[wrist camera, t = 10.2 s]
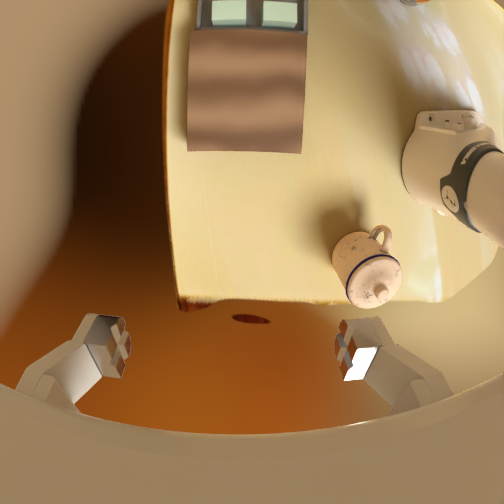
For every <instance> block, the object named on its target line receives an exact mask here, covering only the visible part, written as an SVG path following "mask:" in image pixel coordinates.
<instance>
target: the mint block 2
mask: <svg viewBox="0 0 504 504" xmlns="http://www.w3.org/2000/svg"><path fill="white" fill-rule="evenodd" d="M296 24H297V3H287V2H275V1H263V6H262V10H261V27H263V28H277V29H287V30H293V28H294V27H295V25H296Z"/></svg>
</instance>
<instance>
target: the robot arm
mask: <svg viewBox="0 0 504 504" xmlns="http://www.w3.org/2000/svg"><path fill="white" fill-rule="evenodd" d="M429 117H430V121H429ZM402 175H403V180H404V184H405V186H406V189H407V191H408V192H409V194H410V195H411V196H412V198H413V199H414V200H416V201H417V202H418V203H420V204H423V205H426V206H429V207H432V208H433V209H434V210H435V211H436V212H437V213H438V214H440V215H442V216H444V215H448V216H450V217H452V218H454V219H456V220H458V221H460V222H462V223H463V224H465V225H466V226H467V227H468V228H469V229H472V230H474V231H476V232H478V233H483V234H484V235H486V236H487V237H488V238H490V239H491V240H492V241H494V242H495V243H496V244H498V245H499V246H500V247H502V248H503V249H504V153H503V152H502V151H501V150H500V149H499V144H498V140H497V137H496V135H495V133H494V131H493V130H492V129H491V128H490V127H489V126H486V125H484V122H483V120H482V118H481V116H480V115H479V113H478V112H476V111H473V110H440V111H421V112H419V113H418V115H417V119H416V124H415V129H414V131H413V133H412V135H411V137H410V138H409V140H408V142H407V144H406V146H405V149H404V153H403V158H402ZM125 326H126V324H125V321H124V319H123V318H122V317H116V316H108V315H97V314H91V313H89V314H87V315H86V316H85V318H84V319H83V321H82V323H81V325H80V326H79V328H78V330H77V331H76V333H75V335H74V337H73V338H72V340H71V341H67V342H65V343H64V344H62V345H60V346H59V347H57V348H56V349H54V350H53V351H51V352H50V353H48V354H47V355H45V356H44V357H42V358H40V359H39V360H38V361H36V362H34V363H33V364H31V365H30V366H28V367H27V368H26V370H25V372H24V374H23V376H22V377H21V379H20V381H19V383H18V385H17V387H16V389H15V390H13V389H11V388H8V387H7V386H4V385H2V384H0V504H504V373H502V374H500V375H498V376H496V377H494V378H492V379H490V380H488V381H486V382H483V383H481V384H479V385H477V386H475V387H472V388H470V389H468V390H465V391H463V392H461V393H459V394H456V395H454V394H453V392H452V390H451V389H450V387H449V385H448V383H447V381H446V379H445V378H444V376H443V374H442V372H440V371H439V370H437V369H435V368H434V367H433V366H431V365H429V364H428V363H426V362H425V361H423V360H422V359H420V358H419V357H417V356H416V355H414V354H412V353H411V352H409V351H408V350H406V349H405V348H403V347H402V346H400V345H399V344H397V345H395V344H394V342H393V340H392V338H391V337H390V335H389V333H388V331H387V329H386V328H385V326H384V324H383V322H382V321H381V319H380V318H379V317H378V316H376V317H366V318H356V319H343V320H342V321H341V322H340V325H339V329H340V333H339V334H338V335H337V336H336V338H335V342H334V350H335V355H336V359H338V360H339V361H340V362H341V365H340V371H341V374H342V376H343V380H344V381H346V380H355V379H363V378H364V380H365V381H366V382H367V383H368V384H369V385H370V386H371V387H372V388H373V389H374V390H375V391H377V392H378V393H379V394H380V395H381V396H382V397H383V398H384V399H385V400H386V401H387V402H388V403H389V404H391V406H393V408H392V410H391V411H390V412H389V414H388V415H387V416H386V417H383V418H379V419H375V420H371V421H366V422H361V423H356V424H351V425H345V426H339V427H333V428H326V429H319V430H311V431H303V432H291V433H278V434H256V435H255V434H254V435H223V434H200V433H186V432H176V431H167V430H159V429H151V428H145V427H139V426H133V425H127V424H122V423H118V422H113V421H108V420H104V419H100V418H95V417H92V416H88V415H84V414H81V413H80V411H79V410H78V409H77V408H76V406H75V405H74V403H75V402H76V401H77V400H78V399H79V398H81V396H83V395H84V393H86V392H87V391H88V390H89V389H90V388H91V387H92V386H93V385H94V384H95V383H96V382H97V381H98V380H99V379H100V378H101V377H102V376H108V377H115V378H121V377H122V374H123V371H124V368H125V363H124V359H126V358H127V357H128V356H129V354H130V349H131V340H130V336H129V333H128V332H126V331H125V330H124V328H125Z"/></svg>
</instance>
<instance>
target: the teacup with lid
mask: <svg viewBox="0 0 504 504" xmlns="http://www.w3.org/2000/svg"><path fill="white" fill-rule="evenodd" d="M381 231H384V241H383V244H382V245H381V244H380V243H379V242H378V241H377V240H376V238H377V236H378V234H379V233H380V232H381ZM391 242H392V232H391V230H390V229H389V228H388V227H387V226H384V225H378V226H376V227H375V228H374V229H373V230H372V231H371V233H370V234H369V233H366V232H353V233H350V234H348V235H346V236H345V237H343V238H342V239H341V240H340V241H339V242H338V243H337V245H336V246H335V248H334V251H333V254H332V264H333V267H334V269H335V271H336V273H337V274H338V276H339V278H340V280H341V282H342V284H343V286H344V288H345V290H346V295H347V297H348V299H349V300H350V302H351V303H353V304H354V305H356V306H358V307H361V308H374V307H377V306H380V305H382V304H384V303H385V302H387V301H388V300H389V299H391V298H392V297H393V296H394V294H395V293H396V292H397V290H398V288H399V286H400V283H401V280H402V270H401V267H400V264H399V262H398V261H397V260H396V259H395V258H394V257H392V256H391V255H390V254H389V253H388V252H387V251H388V249H389V247H390V245H391Z"/></svg>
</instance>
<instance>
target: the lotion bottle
mask: <svg viewBox="0 0 504 504" xmlns="http://www.w3.org/2000/svg"><path fill="white" fill-rule="evenodd" d="M400 1H401V2H403V3H405V4H407V5H409V6H416V5H419V4H422V3H424V2H427V1H430V0H400Z"/></svg>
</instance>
